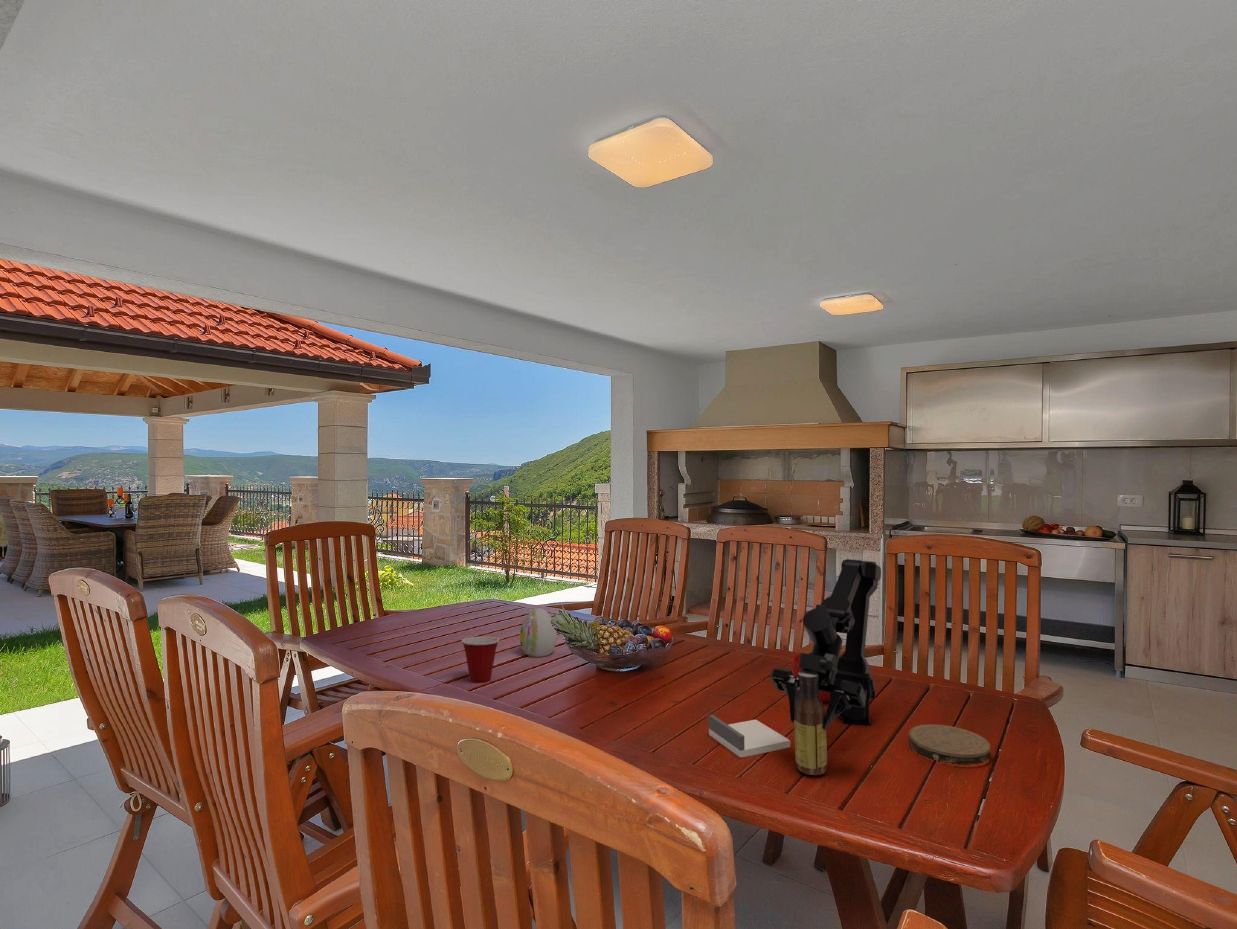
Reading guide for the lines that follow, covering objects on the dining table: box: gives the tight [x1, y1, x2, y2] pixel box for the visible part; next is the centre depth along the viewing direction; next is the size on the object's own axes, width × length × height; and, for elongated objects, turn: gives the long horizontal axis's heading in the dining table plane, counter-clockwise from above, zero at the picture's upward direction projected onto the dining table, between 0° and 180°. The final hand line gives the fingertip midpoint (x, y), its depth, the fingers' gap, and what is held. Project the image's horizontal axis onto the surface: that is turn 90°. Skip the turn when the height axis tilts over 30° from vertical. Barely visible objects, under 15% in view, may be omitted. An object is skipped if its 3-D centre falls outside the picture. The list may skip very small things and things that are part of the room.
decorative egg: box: [519, 607, 558, 658], centre depth 216 cm, size 12×12×15 cm
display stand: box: [708, 714, 791, 758], centre depth 148 cm, size 13×13×4 cm
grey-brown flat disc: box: [908, 723, 991, 765], centre depth 142 cm, size 16×16×3 cm
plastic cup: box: [461, 636, 500, 684], centre depth 190 cm, size 11×11×12 cm
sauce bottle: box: [794, 670, 828, 776], centre depth 133 cm, size 6×6×20 cm
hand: (807, 725), depth 132 cm, fingers closed on sauce bottle, 6 cm apart
